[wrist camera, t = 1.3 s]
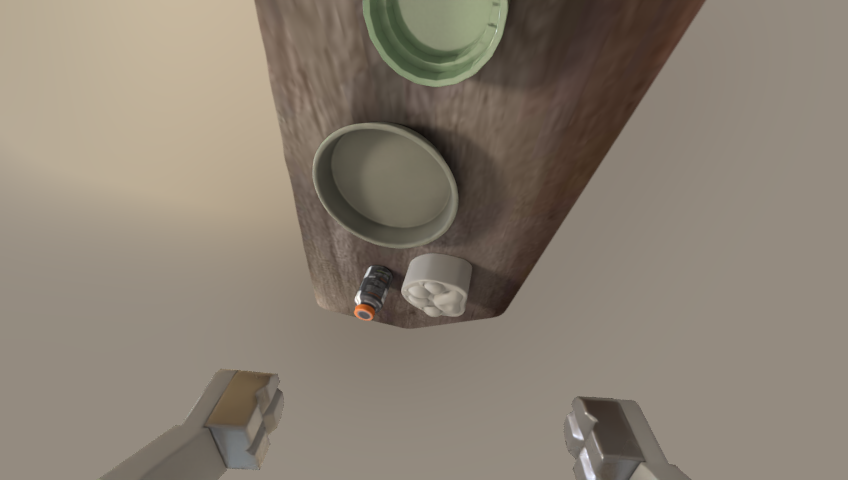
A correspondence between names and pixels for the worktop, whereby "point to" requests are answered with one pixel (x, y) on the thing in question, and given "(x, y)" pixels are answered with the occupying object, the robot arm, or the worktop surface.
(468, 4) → the bowl
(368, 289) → the pill bottle
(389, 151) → the cake pan
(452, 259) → the lumpy-topped squat cylinder
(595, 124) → the worktop surface
